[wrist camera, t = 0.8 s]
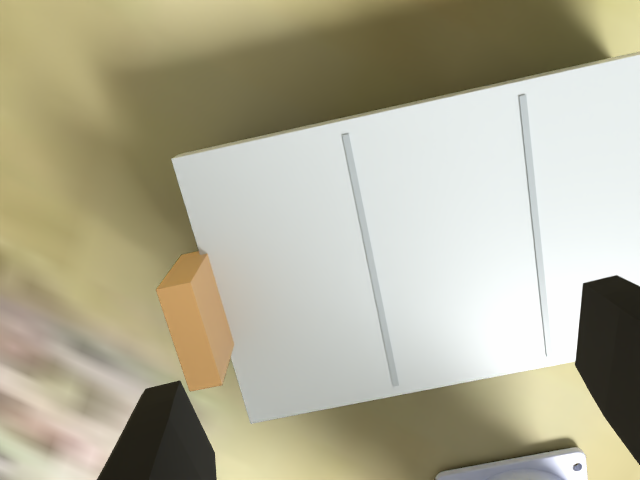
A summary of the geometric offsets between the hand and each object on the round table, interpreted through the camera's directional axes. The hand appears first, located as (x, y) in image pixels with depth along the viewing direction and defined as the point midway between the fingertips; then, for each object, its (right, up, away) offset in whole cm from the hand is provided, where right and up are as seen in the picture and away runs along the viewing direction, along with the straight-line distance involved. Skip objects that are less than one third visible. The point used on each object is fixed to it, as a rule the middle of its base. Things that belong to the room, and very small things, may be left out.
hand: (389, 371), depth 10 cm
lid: (+4, +2, +13) cm, 13 cm away
